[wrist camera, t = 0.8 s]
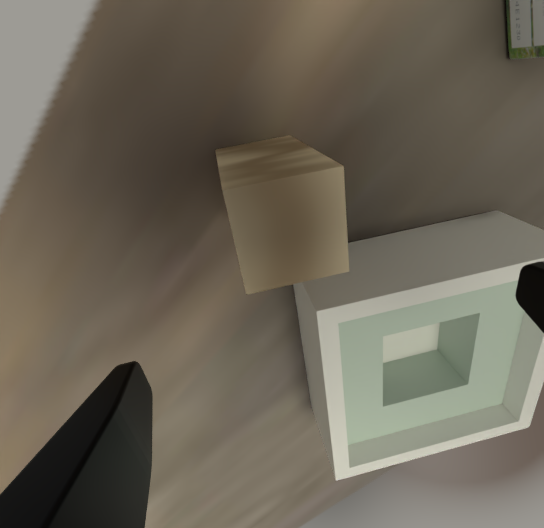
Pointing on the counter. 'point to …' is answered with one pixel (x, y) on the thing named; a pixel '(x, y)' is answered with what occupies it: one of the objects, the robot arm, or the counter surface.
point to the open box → (422, 342)
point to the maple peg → (284, 212)
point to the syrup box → (525, 28)
